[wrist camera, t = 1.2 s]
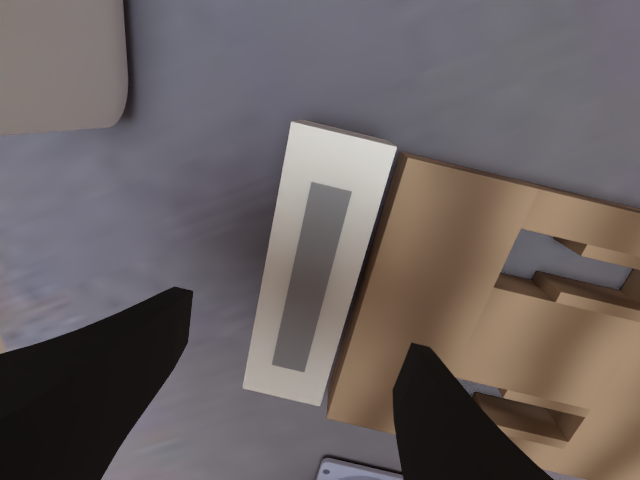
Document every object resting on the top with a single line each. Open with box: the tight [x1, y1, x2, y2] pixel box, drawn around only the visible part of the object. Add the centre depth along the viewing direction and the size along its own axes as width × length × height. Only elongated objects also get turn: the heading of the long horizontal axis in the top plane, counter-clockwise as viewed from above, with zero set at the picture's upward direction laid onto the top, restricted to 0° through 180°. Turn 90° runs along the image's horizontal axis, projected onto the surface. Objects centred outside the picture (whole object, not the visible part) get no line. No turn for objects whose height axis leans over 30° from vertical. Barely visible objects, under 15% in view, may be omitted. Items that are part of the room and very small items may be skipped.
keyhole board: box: [327, 152, 640, 480], centre depth 19 cm, size 20×16×2 cm
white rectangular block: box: [242, 119, 397, 406], centre depth 17 cm, size 13×4×5 cm, turn 167°
